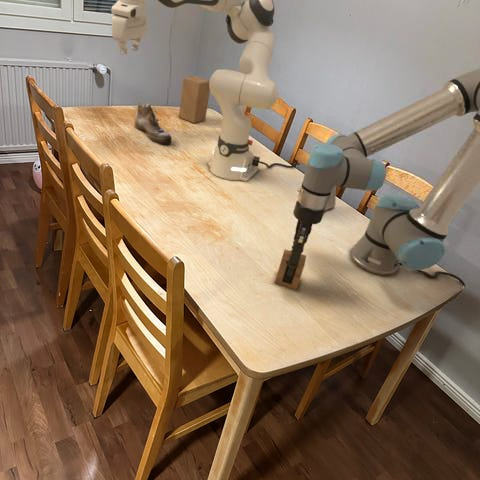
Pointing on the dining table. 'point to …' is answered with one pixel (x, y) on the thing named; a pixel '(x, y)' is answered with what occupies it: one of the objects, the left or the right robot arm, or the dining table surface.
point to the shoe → (151, 124)
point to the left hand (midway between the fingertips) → (129, 51)
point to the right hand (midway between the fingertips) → (288, 276)
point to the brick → (283, 267)
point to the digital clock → (332, 199)
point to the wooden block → (194, 99)
